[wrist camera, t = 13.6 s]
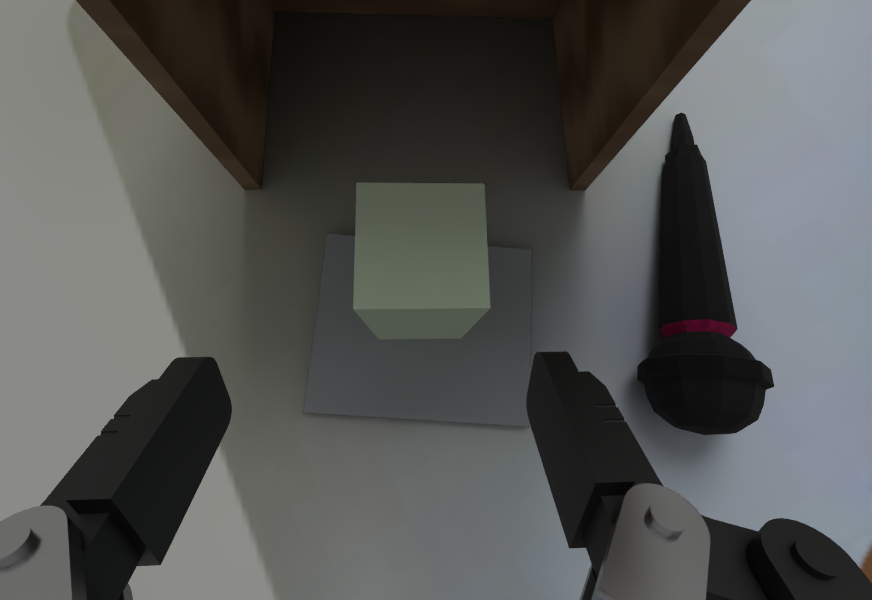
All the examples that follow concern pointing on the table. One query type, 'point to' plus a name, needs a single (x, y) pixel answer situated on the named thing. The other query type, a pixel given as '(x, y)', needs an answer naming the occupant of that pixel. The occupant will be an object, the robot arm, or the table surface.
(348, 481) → the table surface
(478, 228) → the sage block
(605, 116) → the walnut cubby
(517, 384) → the slate mat
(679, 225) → the microphone
